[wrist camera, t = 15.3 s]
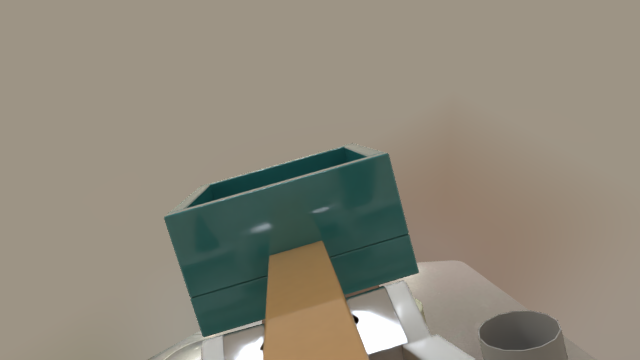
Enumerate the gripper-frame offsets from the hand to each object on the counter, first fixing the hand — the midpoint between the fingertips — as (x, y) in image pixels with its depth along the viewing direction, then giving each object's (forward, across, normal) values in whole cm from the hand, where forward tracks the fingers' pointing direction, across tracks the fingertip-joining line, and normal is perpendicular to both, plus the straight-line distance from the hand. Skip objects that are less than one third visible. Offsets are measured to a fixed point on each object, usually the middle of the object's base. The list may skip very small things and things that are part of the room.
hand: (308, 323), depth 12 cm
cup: (+15, -19, +47) cm, 53 cm away
